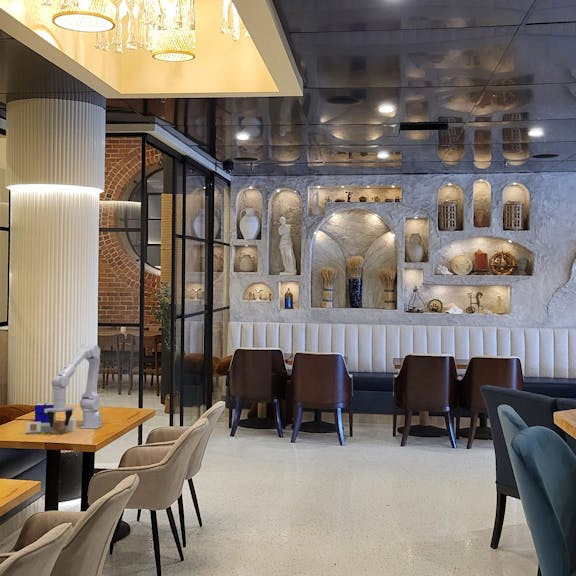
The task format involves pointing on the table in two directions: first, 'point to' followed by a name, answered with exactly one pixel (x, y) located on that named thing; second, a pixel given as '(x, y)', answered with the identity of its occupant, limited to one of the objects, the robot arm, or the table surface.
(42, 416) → the puzzle cube
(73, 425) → the off-white block
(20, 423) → the table surface
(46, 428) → the base block
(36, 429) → the cream-edged tan board
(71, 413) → the robot arm
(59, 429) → the walnut block
